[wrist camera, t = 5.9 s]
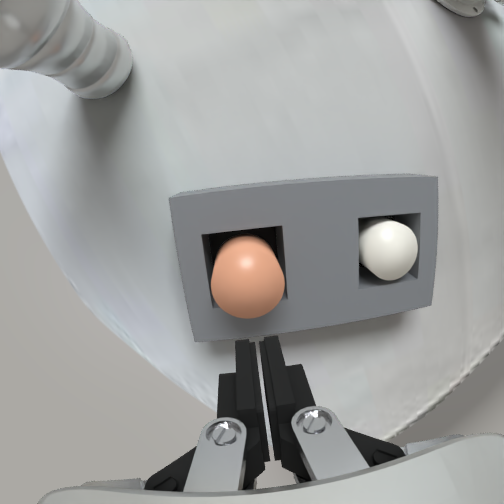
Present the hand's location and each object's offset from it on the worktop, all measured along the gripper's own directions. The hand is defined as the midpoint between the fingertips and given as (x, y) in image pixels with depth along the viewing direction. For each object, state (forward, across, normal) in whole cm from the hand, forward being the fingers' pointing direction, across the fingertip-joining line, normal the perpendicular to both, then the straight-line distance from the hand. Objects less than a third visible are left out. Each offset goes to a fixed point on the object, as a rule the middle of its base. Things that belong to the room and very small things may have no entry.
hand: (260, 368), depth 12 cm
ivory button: (+17, -12, 0) cm, 20 cm away
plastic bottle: (+17, +11, -19) cm, 28 cm away
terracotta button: (+14, 0, 0) cm, 14 cm away
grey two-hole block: (+17, -6, 0) cm, 18 cm away
